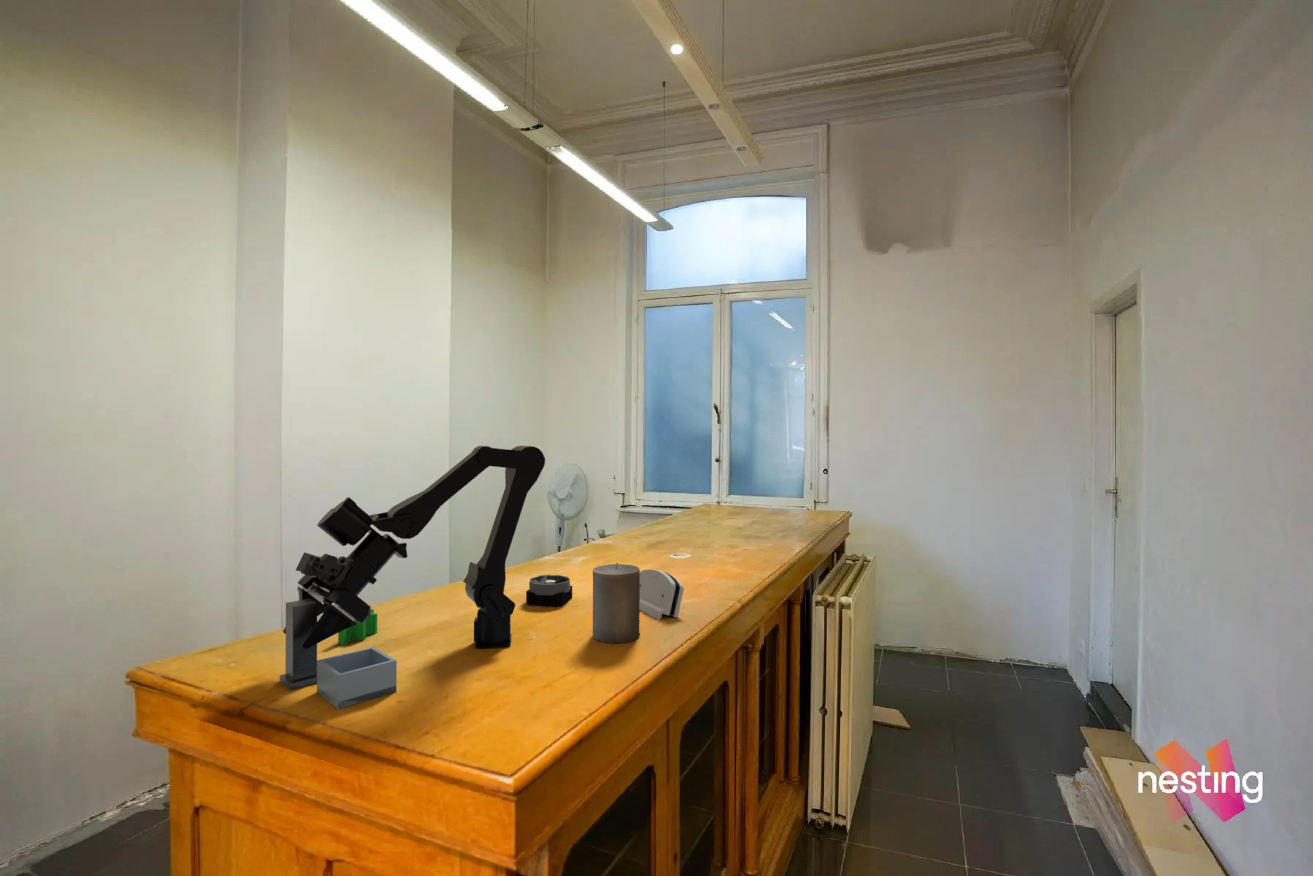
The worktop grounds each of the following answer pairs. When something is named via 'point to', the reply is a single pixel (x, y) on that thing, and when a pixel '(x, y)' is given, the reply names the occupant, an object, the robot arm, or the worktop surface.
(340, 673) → the box
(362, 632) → the pipe clamp
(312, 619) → the dark square pedestal
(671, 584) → the napkin holder
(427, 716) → the worktop surface
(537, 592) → the cpu cooler
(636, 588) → the pillar candle
